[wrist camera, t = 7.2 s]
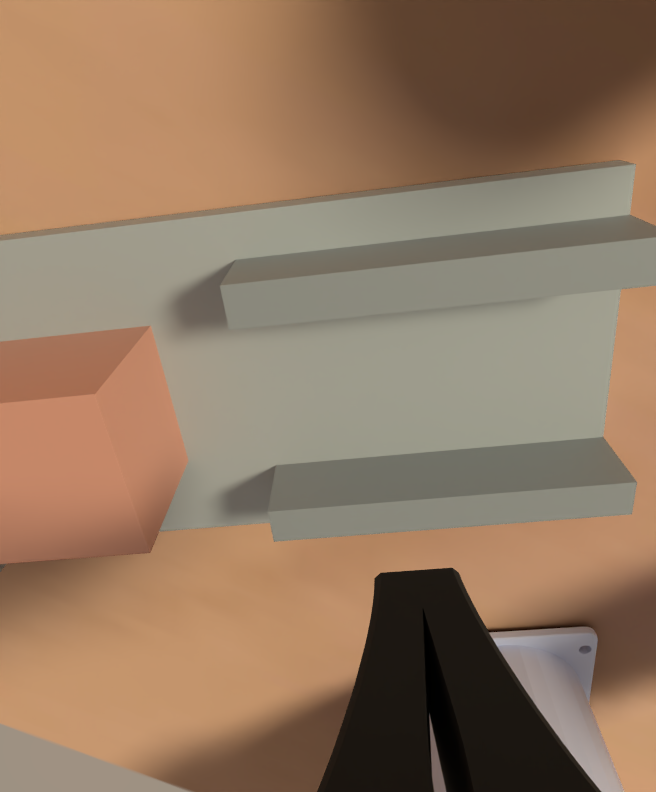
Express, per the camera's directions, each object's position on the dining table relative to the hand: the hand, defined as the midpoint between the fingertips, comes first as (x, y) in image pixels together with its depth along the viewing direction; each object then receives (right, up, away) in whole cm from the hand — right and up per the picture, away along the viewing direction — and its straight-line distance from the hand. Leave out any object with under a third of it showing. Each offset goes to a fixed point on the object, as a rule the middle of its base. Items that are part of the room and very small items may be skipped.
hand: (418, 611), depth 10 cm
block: (-10, +3, +9) cm, 14 cm away
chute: (-4, +4, +9) cm, 11 cm away
